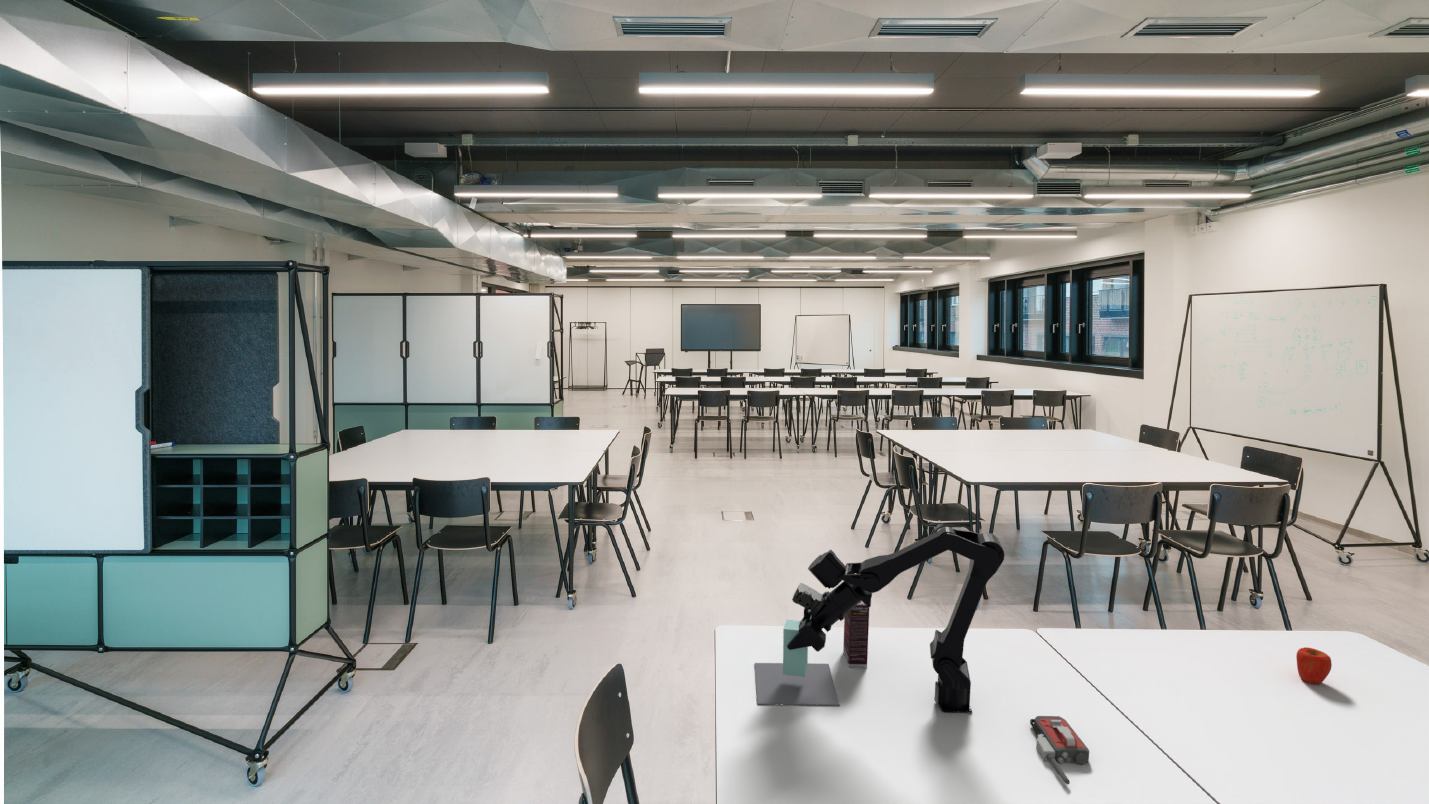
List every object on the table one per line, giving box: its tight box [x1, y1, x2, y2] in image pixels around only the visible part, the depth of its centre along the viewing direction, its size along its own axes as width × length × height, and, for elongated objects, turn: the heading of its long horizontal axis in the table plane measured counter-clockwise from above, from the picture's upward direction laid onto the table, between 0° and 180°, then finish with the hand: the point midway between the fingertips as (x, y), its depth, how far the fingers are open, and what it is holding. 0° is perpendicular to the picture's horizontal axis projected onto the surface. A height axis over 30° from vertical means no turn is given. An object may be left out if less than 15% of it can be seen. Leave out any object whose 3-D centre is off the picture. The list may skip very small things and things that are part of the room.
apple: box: [1295, 647, 1333, 685], centre depth 168 cm, size 6×6×8 cm
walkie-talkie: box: [1029, 715, 1090, 785], centre depth 140 cm, size 9×4×20 cm
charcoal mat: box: [754, 662, 841, 707], centre depth 167 cm, size 18×18×1 cm
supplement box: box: [842, 601, 870, 668], centre depth 177 cm, size 9×5×16 cm, turn 179°
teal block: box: [782, 619, 809, 677], centre depth 165 cm, size 5×5×11 cm
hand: (789, 642), depth 166 cm, fingers closed on teal block, 5 cm apart
